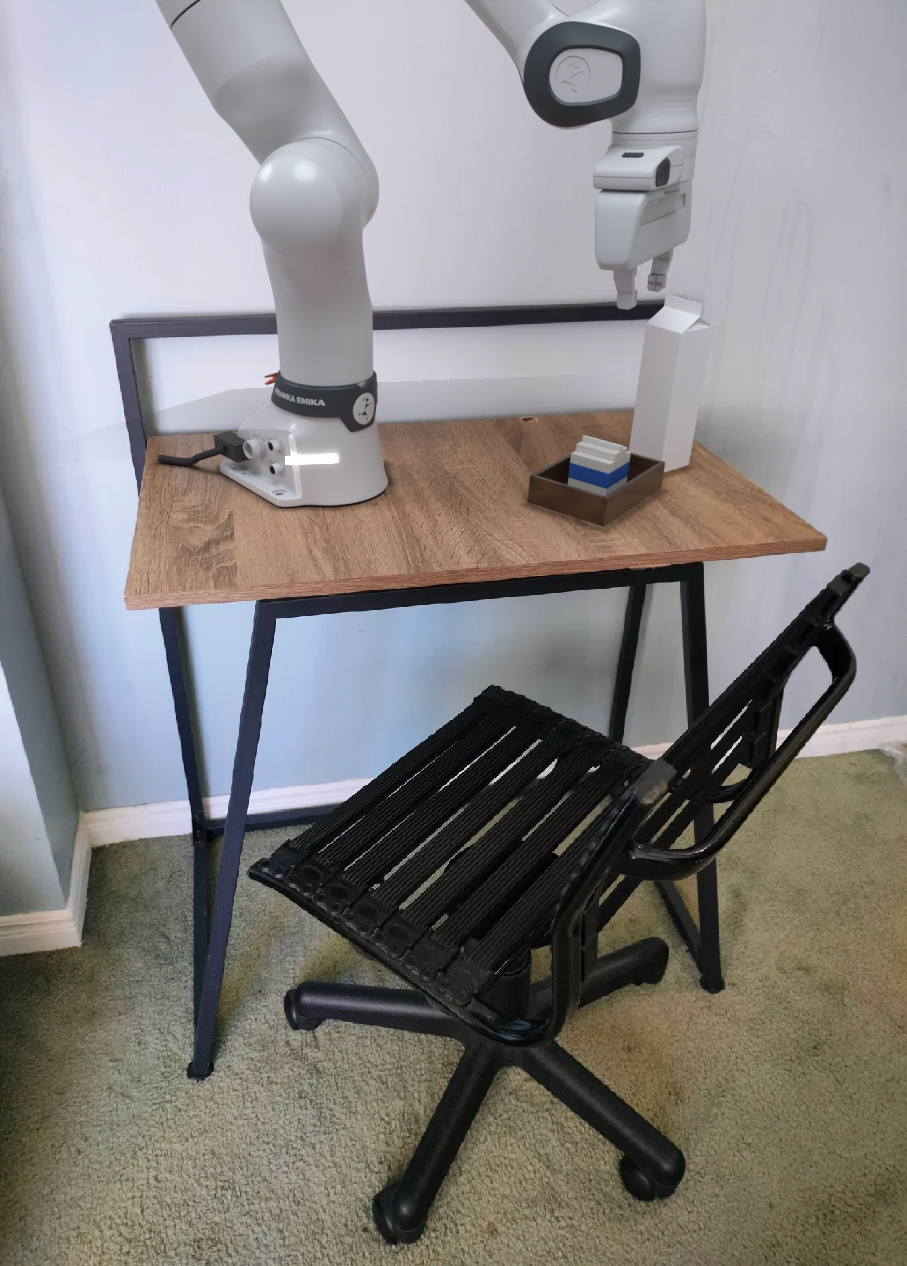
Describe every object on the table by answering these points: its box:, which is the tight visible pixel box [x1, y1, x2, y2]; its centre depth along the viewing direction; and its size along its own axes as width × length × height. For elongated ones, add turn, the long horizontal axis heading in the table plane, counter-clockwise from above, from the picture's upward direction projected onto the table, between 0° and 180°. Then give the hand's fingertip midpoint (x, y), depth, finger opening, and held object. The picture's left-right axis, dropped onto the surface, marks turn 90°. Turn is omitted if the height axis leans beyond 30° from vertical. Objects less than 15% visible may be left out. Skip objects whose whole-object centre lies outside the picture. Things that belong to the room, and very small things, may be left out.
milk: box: [628, 294, 714, 473], centre depth 120 cm, size 6×6×22 cm
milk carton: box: [568, 434, 631, 496], centre depth 114 cm, size 5×5×7 cm
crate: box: [527, 453, 665, 528], centre depth 115 cm, size 11×15×4 cm
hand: (641, 298), depth 104 cm, fingers open, 8 cm apart
